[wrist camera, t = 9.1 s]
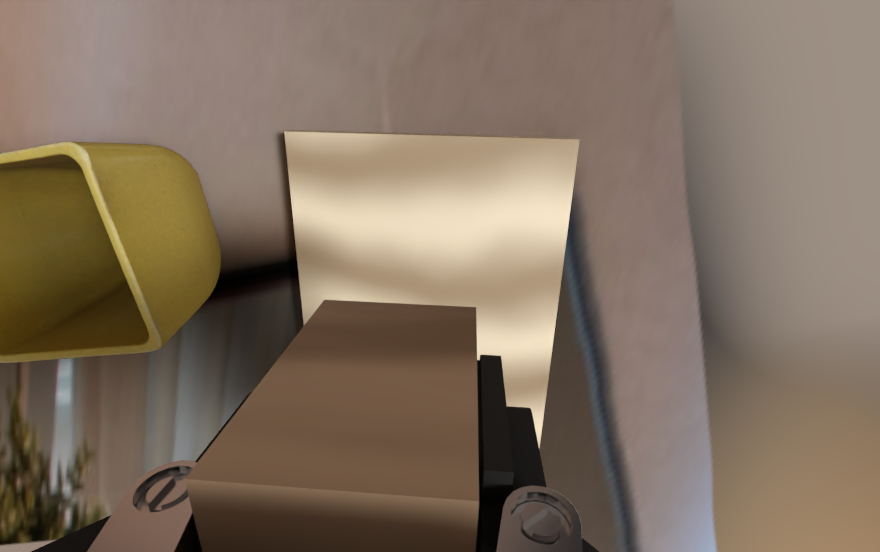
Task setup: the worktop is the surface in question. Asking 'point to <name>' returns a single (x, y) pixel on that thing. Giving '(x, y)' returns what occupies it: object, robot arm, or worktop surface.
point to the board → (440, 233)
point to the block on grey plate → (352, 439)
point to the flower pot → (100, 249)
